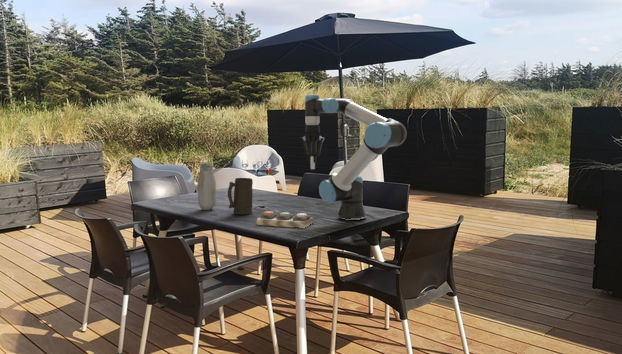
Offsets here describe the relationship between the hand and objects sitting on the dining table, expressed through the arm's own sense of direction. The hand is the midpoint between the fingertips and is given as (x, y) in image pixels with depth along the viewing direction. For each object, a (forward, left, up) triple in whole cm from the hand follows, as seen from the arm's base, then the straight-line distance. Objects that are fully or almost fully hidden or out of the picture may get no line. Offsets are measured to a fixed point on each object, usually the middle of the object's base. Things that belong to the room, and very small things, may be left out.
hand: (312, 169), depth 273 cm
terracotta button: (+17, +20, -23) cm, 35 cm away
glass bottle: (+67, -3, -27) cm, 72 cm away
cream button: (-1, +20, -23) cm, 30 cm away
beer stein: (+42, +3, -27) cm, 50 cm away
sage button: (+8, +20, -23) cm, 31 cm away
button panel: (+8, +20, -26) cm, 34 cm away
